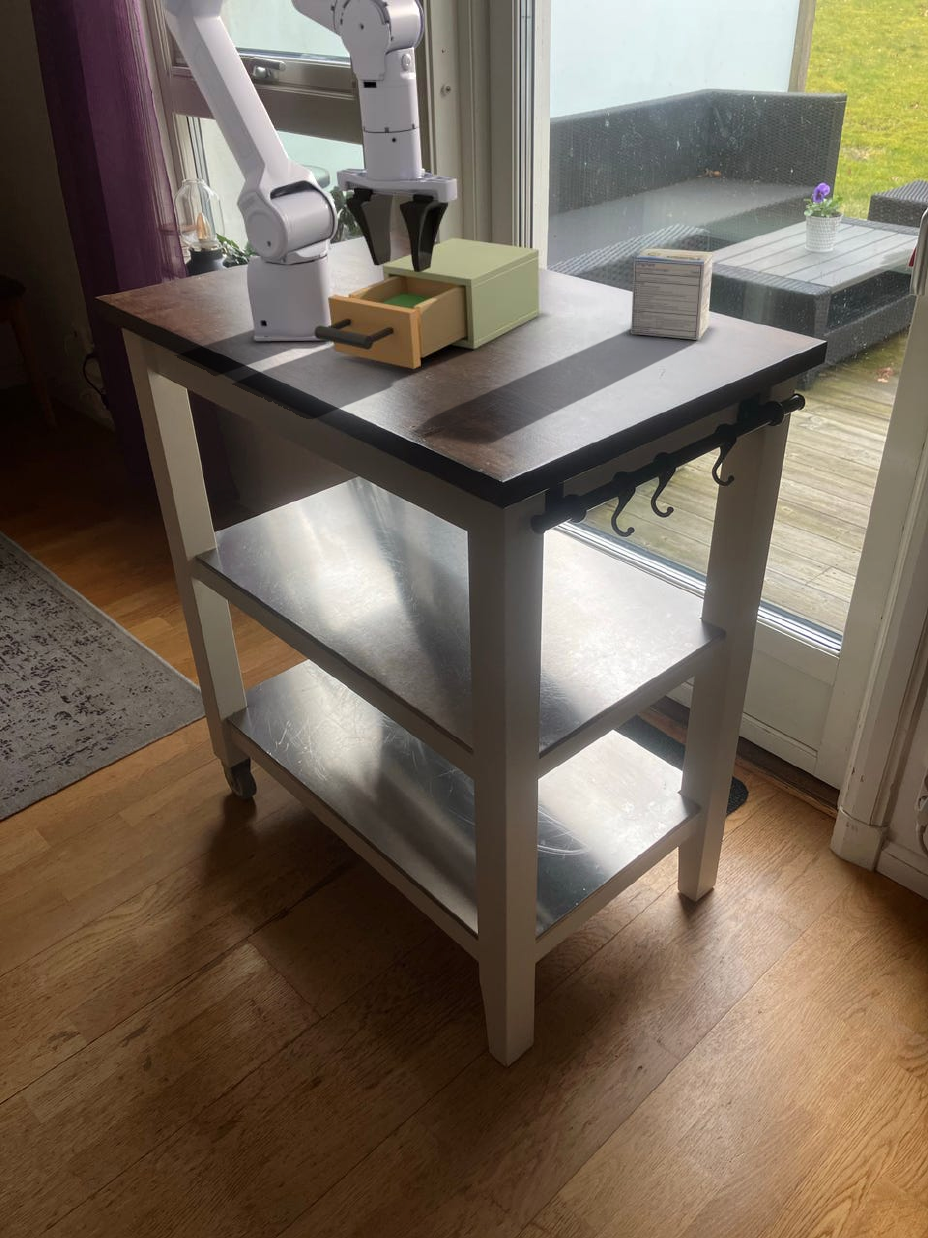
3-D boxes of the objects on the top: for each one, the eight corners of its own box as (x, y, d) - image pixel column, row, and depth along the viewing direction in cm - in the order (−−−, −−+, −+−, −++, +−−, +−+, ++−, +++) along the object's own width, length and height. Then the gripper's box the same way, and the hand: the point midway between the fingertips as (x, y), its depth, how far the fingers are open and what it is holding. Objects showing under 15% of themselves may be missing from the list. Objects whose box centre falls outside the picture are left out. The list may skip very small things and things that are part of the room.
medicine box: (708, 329, 115) (715, 251, 111) (698, 341, 112) (705, 262, 107) (641, 322, 118) (644, 246, 113) (629, 335, 115) (633, 257, 110)
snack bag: (409, 321, 117) (407, 291, 115) (441, 327, 114) (439, 296, 112) (372, 338, 112) (369, 307, 110) (404, 345, 110) (402, 313, 108)
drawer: (384, 384, 104) (378, 326, 100) (304, 365, 110) (296, 310, 106) (482, 334, 115) (479, 281, 112) (404, 319, 121) (400, 268, 118)
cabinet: (474, 349, 114) (470, 279, 109) (388, 332, 120) (382, 265, 116) (539, 315, 123) (538, 249, 118) (456, 300, 129) (452, 237, 125)
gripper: (472, 125, 100) (478, 264, 108) (362, 118, 108) (375, 249, 115) (429, 137, 96) (438, 282, 103) (317, 129, 103) (333, 264, 111)
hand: (402, 266), depth 109 cm, fingers open, 5 cm apart
